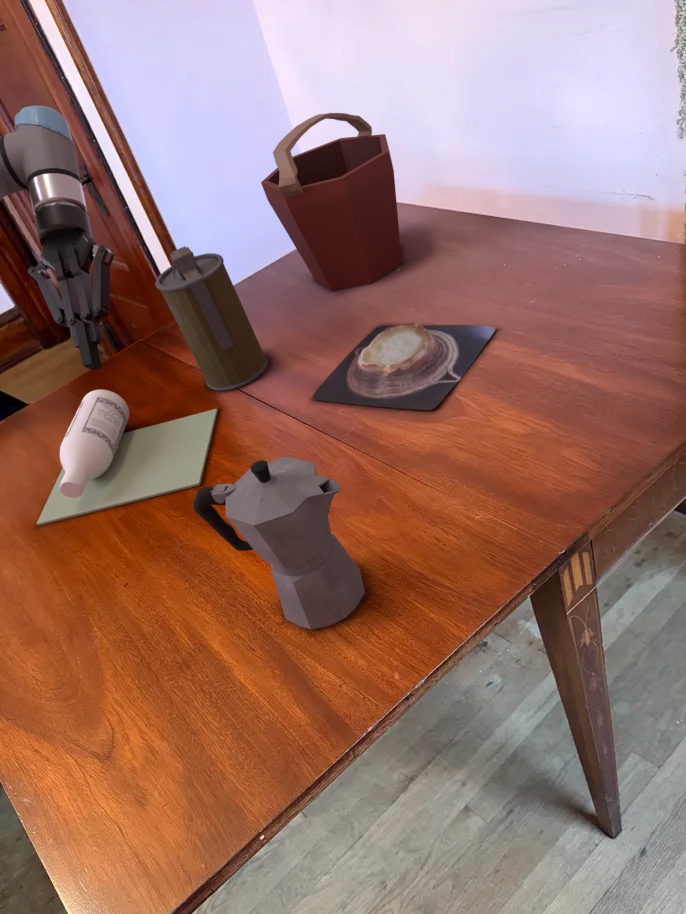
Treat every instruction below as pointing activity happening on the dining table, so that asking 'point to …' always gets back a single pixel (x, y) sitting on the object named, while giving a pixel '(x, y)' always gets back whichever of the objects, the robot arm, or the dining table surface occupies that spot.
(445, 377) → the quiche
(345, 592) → the coffeepot
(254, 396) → the dining table surface
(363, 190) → the bucket
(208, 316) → the canister
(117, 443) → the bath foam
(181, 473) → the mat
